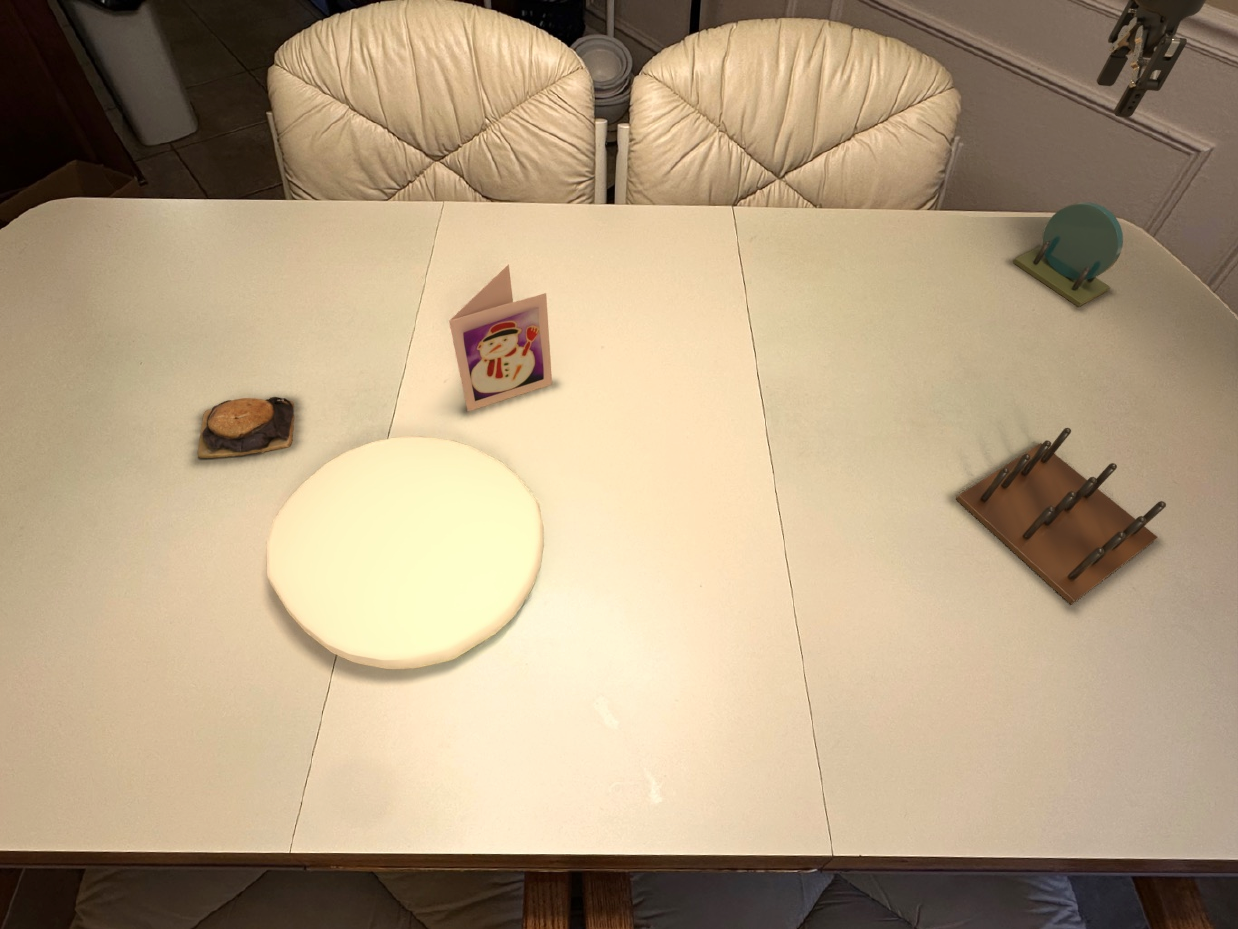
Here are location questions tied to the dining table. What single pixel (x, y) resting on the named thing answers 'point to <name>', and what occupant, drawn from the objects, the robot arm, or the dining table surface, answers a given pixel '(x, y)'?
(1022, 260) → the drying stand
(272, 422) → the brown piece
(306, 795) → the dining table surface
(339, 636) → the plate
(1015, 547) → the dish rack
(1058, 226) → the small plate
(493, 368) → the greeting card
